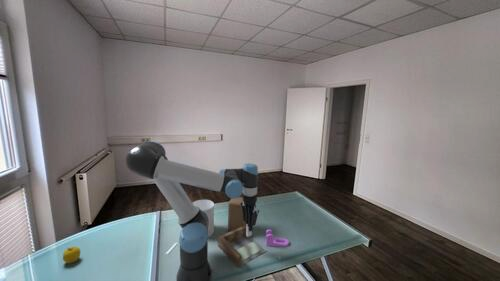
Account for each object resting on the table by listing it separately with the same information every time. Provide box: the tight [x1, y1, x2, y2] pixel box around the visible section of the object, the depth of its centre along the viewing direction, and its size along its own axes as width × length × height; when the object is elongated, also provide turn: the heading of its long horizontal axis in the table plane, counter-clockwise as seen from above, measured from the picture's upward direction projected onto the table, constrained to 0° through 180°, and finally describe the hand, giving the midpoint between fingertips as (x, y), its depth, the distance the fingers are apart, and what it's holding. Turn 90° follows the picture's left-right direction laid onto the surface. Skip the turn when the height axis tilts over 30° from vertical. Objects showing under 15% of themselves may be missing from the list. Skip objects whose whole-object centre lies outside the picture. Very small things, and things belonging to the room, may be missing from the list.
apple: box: [62, 246, 81, 264], centre depth 94 cm, size 6×6×8 cm
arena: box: [217, 225, 267, 269], centre depth 106 cm, size 19×19×6 cm
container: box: [192, 199, 215, 238], centre depth 120 cm, size 14×14×18 cm
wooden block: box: [227, 196, 246, 233], centre depth 123 cm, size 10×10×20 cm
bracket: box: [265, 229, 289, 248], centre depth 112 cm, size 13×6×7 cm, turn 90°
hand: (249, 235), depth 104 cm, fingers closed
